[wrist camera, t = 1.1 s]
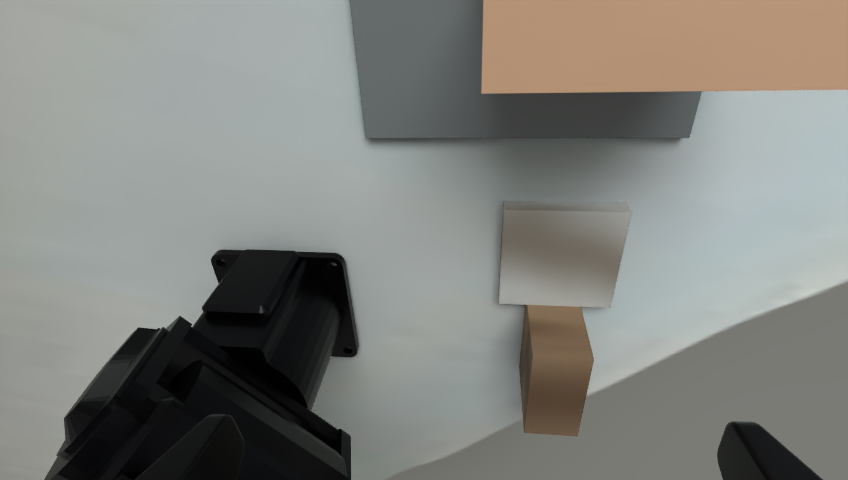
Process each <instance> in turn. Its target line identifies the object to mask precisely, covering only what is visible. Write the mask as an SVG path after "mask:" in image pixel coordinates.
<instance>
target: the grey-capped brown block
mask: <svg viewBox="0 0 848 480" xmlns="http://www.w3.org/2000/svg"><path fill="white" fill-rule="evenodd" d="M631 213H632V212H631V210H630V208H629V206H628V204H627V203H611V202H542V201H504V202H503V221H502V239H501V258H500V277H499V304H520V305H525V312H524V323H523V334H522V344H521V355H520V365H519V369H520V383H521V396H522V410H523V422H524V432H525V433H537V434H538V433H539V434H552V435H566V436H578V431H579V426H580V422H581V417H582V413H583V408H584V403H585V398H586V394H587V389H588V385H589V380H590V375H591V371H592V366H593V361H594V358H593V354H592V350H591V346H590V342H589V338H588V334H587V330H586V326H585V322H584V318H583V314H582V309H581V307H598V308H611V303H612V299H613V294H614V289H615V285H616V280H617V276H618V271H619V267H620V262H621V258H622V253H623V249H624V244H625V240H626V235H627V231H628V226H629V222H630V217H631Z"/></svg>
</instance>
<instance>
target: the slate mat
mask: <svg viewBox="0 0 848 480" xmlns="http://www.w3.org/2000/svg"><path fill="white" fill-rule="evenodd" d="M350 7H351V15H352V24H353V33H354V42H355V50H356V59H357V68H358V76H359V85H360V94H361V103H362V111H363V120H364V129H365V138H689V137H690V133H691V129H692V126H693V122H694V118H695V115H696V111H697V107H698V103H699V100H700V96H701V92H702V91H671V92H581V93H492V94H481V88H482V42H483V0H350Z"/></svg>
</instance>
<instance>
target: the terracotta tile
mask: <svg viewBox="0 0 848 480" xmlns="http://www.w3.org/2000/svg"><path fill="white" fill-rule="evenodd" d="M760 90H848V0H483V42H482V88H481V94H492V93H581V92H671V91H760Z"/></svg>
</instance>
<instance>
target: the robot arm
mask: <svg viewBox="0 0 848 480" xmlns="http://www.w3.org/2000/svg"><path fill="white" fill-rule="evenodd" d="M221 259H223V260H224V261H225V262H223V261H222V260H221ZM330 262H333V263H336V264H337V266H333V265H332V264H331V263H330ZM211 263H212V266H213V269H214V271H215V274H216V277H217V280H218V283H219V285H218V286H217V287H216V289H215V290H214V291H213V293H212V294H211V295H210V297H209V298H208V299H207V301H206V302H205V303H204V305H203V306H202V310H203V313H202V315H201V316H200V317H199V319H198V320H197V321H196V323H195V324H194V326H193V327H191V326H192V324H191V323H189V322H188V321H187V320H185V319H184V318H182V317H181V316H179V317H178V318H177V319H176V320H175V321H174V322H173V323H172V324H170V325H169V326H168V327H167V328H166V329H165V328H164V327H163V328H161V329H159V328H158V329H148V328H138V329H137V330H135V331H134V332H133V333H132V334H131V335H130V337H129V338H128V339H127V340H126V341H125V342H124V343H123V345H122V346H121V347H120V348H119V349H118V350H117V352H116V353H115V354H114V355H113V356H112V357H111V358H110V360H109V361H108V362H107V363H106V364H105V365H104V367H103V368H102V369H101V370H100V371H99V373H98V374H97V375H96V376H95V378H94V379H93V380H92V382H91V383H90V384H89V386H88V387H87V388H86V390H85V391H84V392H83V394H82V395H81V396H80V398H79V399H78V400H77V402H76V403H75V404H74V405H73V407H72V408H71V409H70V411H69V412H68V413H67V415H66V416H65V417H64V425H65V441H64V443H63V444H62V446H61V448H60V450H59V451H58V453H57V456H58V457H57V459H56V461H55V462H54V464H53V466H52V467H51V469H50V471H49V472H48V474H47V476H46V477H45V480H351V437H350V435H349V434H347V433H346V432H344V431H343V430H342V429H336V428H335V427H333V426H332V425H330V424H329V423H328V422H326V421H325V420H323V419H322V418H320V417H319V416H318V415H316V414H315V413H313V412H312V411H311V409H312V407H313V404H314V401H315V398H316V396H317V393H318V390H319V387H320V385H321V382H322V379H323V376H324V374H325V371H326V368H327V365H328V363H329V360H330V357H331V356H335V357H353V356H355V355H356V354H357V351H358V348H359V344H358V338H357V332H356V326H355V320H354V313H353V307H352V301H351V295H350V289H349V283H348V277H347V270H346V264H345V260H344V258H343V257H342V256H341V255H339V254H336V253H317V252H295V251H278V250H219V251H217V252H216V253H215V254H214V255H213V257H212V259H211ZM347 347H349V348H347ZM350 348H351V349H350ZM717 457H718V464H719V467H720V471H721V474H722V478H723V480H823V479H822V478H820V477H819V476H818V475H817V474H816V473H815V472H813V471H812V470H811V469H810V468H809V467H808V466H807V465H805V464H804V463H803V462H802V461H801V460H799V459H798V458H797V457H796V456H795V455H794V454H793V453H792V452H790V451H789V450H788V449H787V448H786V447H785V446H784V445H782V444H781V443H780V442H779V441H778V440H777V439H775V438H774V437H773V436H772V435H771V434H770V433H769V432H767V431H766V430H765V429H764V428H763V427H762V426H760V425H759V424H757V423H755V422H737V421H733V422H730V423H728V424H727V426H726V428H725V431H724V434H723V436H722V439H721V442H720V445H719V448H718V453H717Z"/></svg>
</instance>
